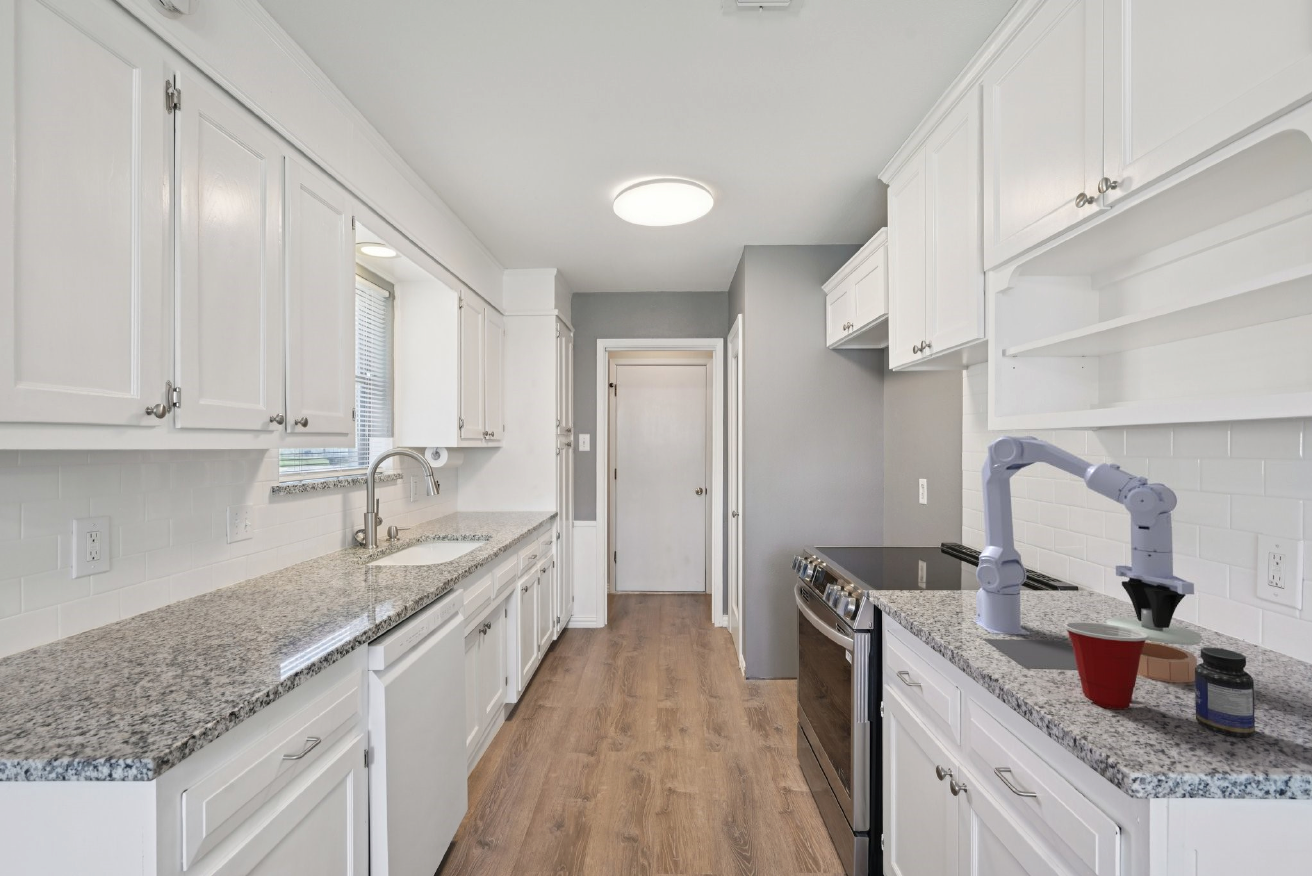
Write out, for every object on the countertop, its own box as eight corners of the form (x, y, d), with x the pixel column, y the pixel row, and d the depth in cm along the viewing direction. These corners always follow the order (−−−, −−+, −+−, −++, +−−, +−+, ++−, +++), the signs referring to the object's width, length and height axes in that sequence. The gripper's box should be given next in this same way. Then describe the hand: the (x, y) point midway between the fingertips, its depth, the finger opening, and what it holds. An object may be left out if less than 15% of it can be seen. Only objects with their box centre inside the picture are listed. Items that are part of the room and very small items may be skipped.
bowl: (1101, 660, 108) (1100, 639, 108) (1162, 661, 107) (1161, 640, 107) (1145, 683, 97) (1145, 660, 98) (1213, 685, 96) (1213, 662, 97)
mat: (982, 641, 119) (982, 638, 119) (1061, 643, 118) (1061, 640, 118) (1025, 670, 103) (1025, 668, 103) (1117, 673, 102) (1117, 670, 102)
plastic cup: (1127, 691, 95) (1126, 619, 95) (1166, 721, 84) (1164, 640, 85) (1053, 684, 98) (1052, 615, 98) (1082, 712, 87) (1080, 634, 87)
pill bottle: (1198, 714, 86) (1196, 642, 87) (1256, 729, 82) (1254, 653, 82) (1193, 727, 82) (1191, 652, 82) (1254, 743, 78) (1252, 663, 78)
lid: (1089, 620, 109) (1089, 599, 109) (1158, 622, 109) (1158, 601, 109) (1144, 643, 96) (1144, 620, 96) (1223, 646, 96) (1223, 622, 96)
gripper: (1099, 543, 110) (1100, 612, 110) (1163, 557, 96) (1165, 637, 95) (1136, 543, 110) (1137, 612, 110) (1206, 557, 95) (1208, 637, 95)
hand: (1153, 624), depth 103 cm, fingers closed on lid, 3 cm apart
